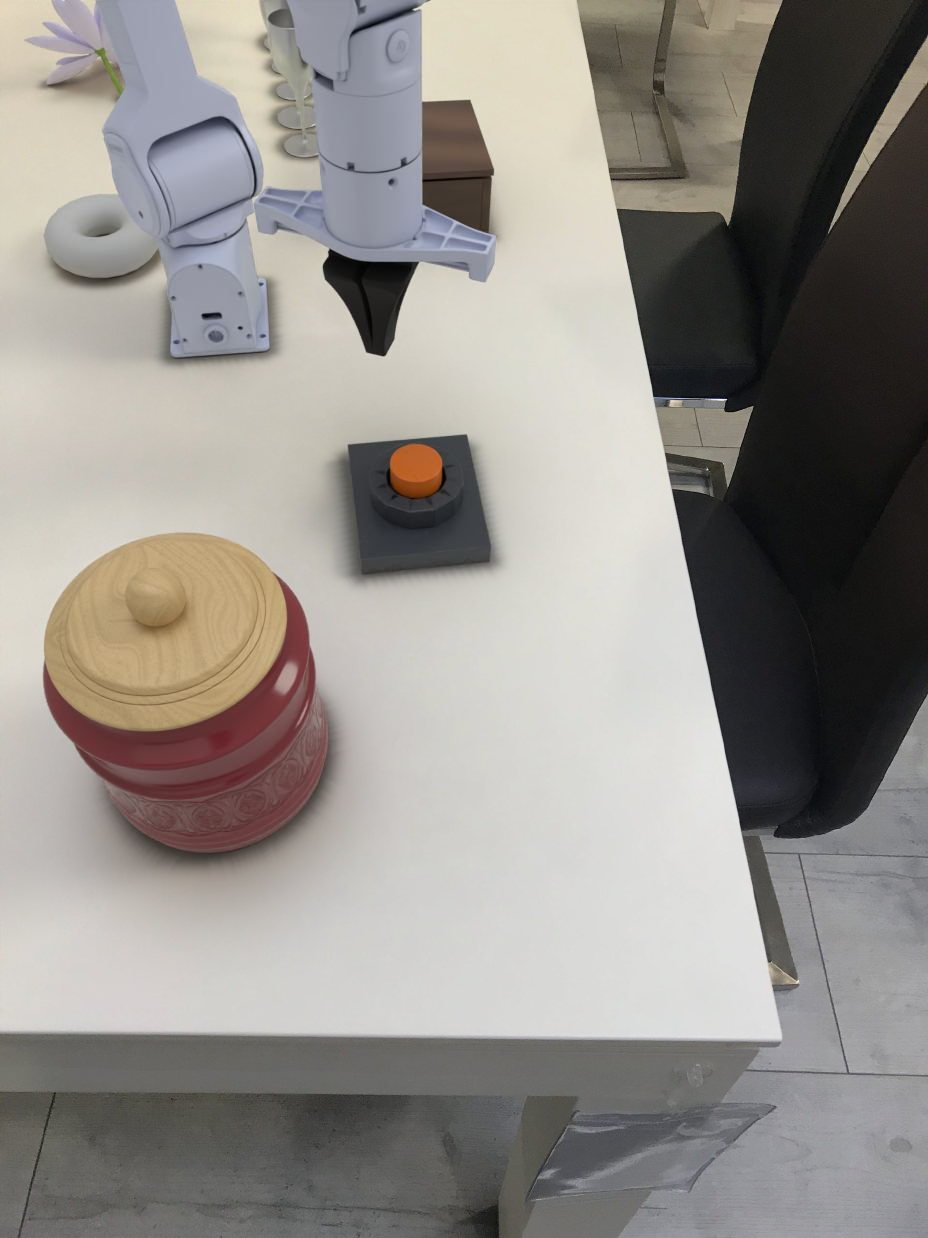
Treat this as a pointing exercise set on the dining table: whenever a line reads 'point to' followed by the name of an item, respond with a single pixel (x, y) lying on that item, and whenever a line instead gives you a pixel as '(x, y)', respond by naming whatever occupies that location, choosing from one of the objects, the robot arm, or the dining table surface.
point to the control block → (417, 510)
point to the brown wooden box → (460, 199)
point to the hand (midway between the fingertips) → (380, 345)
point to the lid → (452, 141)
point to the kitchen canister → (189, 689)
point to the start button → (416, 471)
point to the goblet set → (290, 76)
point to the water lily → (77, 41)
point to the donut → (97, 238)
